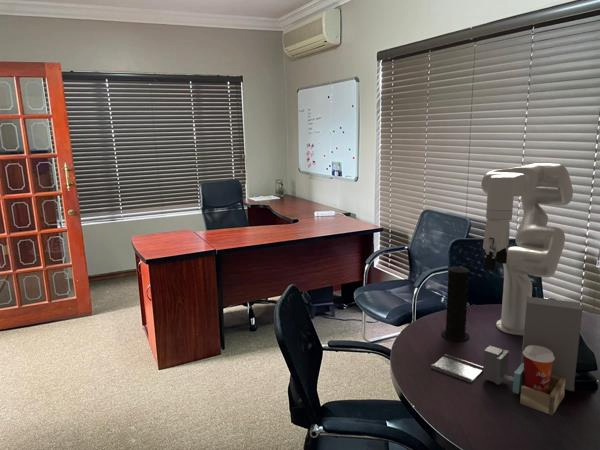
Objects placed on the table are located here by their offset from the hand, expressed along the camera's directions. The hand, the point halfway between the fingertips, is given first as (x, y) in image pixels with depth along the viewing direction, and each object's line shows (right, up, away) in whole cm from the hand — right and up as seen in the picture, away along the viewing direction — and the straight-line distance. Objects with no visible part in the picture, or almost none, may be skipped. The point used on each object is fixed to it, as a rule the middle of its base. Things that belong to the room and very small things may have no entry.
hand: (495, 266), depth 142 cm
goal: (+4, -35, -20) cm, 41 cm away
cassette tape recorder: (+10, -33, -12) cm, 37 cm away
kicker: (-4, -33, -13) cm, 36 cm away
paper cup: (+3, -35, -19) cm, 40 cm away
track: (-14, -32, -4) cm, 35 cm away
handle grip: (-6, -27, +19) cm, 34 cm away
